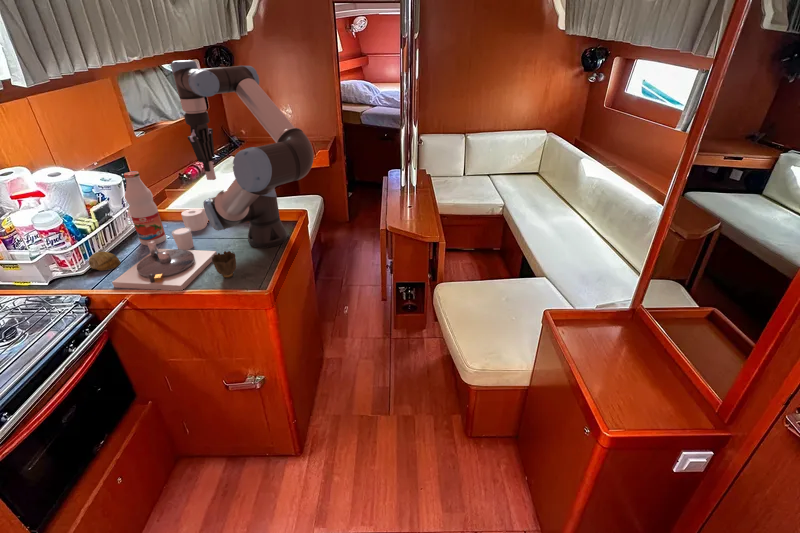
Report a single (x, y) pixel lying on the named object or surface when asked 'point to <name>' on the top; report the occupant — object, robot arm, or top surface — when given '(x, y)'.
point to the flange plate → (169, 267)
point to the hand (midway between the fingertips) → (211, 179)
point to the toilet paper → (195, 219)
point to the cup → (225, 263)
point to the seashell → (104, 261)
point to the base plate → (168, 283)
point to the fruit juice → (143, 210)
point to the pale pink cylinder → (183, 238)
